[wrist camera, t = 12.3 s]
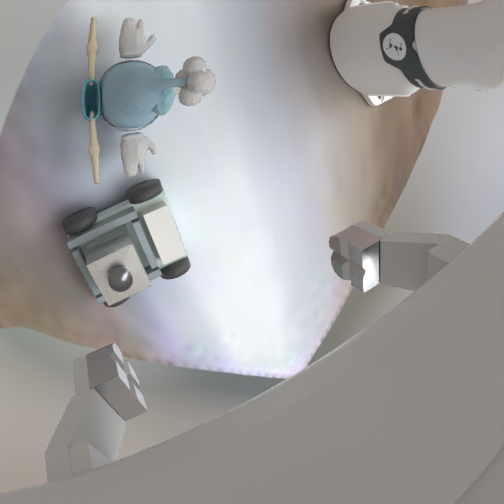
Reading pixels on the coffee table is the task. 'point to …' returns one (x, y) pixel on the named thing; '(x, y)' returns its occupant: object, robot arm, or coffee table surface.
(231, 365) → the coffee table surface
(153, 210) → the chassis
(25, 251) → the coffee table surface
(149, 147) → the toy figure
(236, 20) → the coffee table surface
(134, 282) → the cube with round knob
